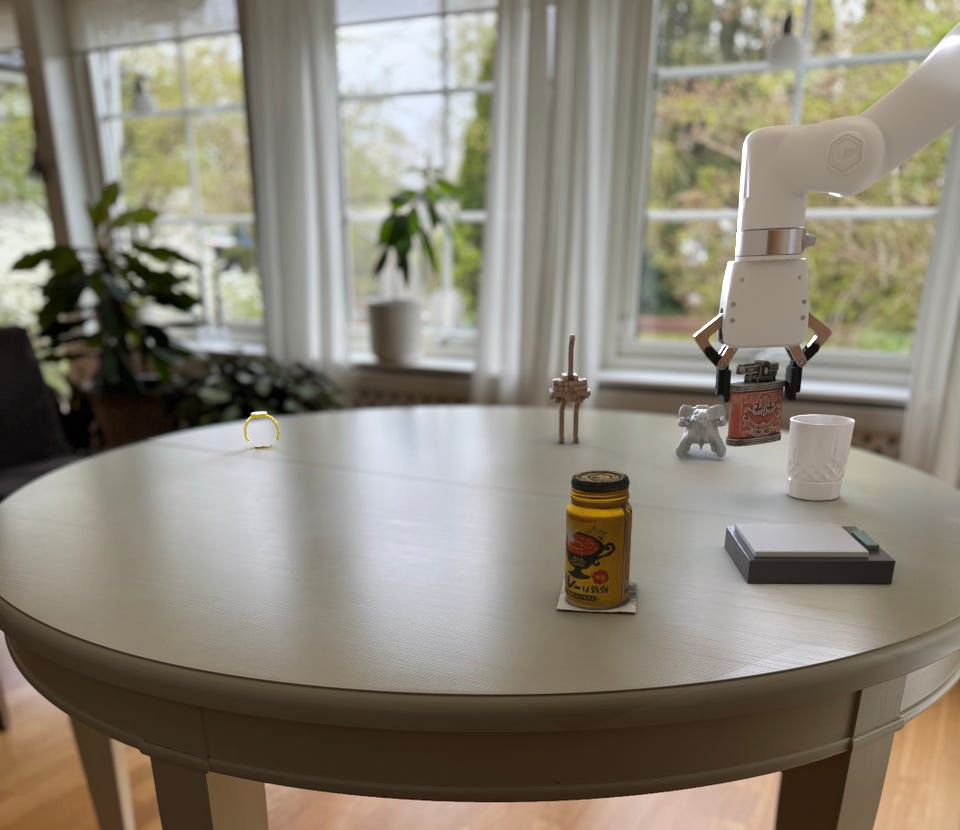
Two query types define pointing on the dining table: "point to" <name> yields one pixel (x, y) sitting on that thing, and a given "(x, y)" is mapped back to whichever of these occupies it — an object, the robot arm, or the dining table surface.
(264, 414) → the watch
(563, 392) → the ostrich figurine
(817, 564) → the scale
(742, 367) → the lighter
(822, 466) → the white cup
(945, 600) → the dining table surface
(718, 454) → the elephant statuette
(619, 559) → the condiment
